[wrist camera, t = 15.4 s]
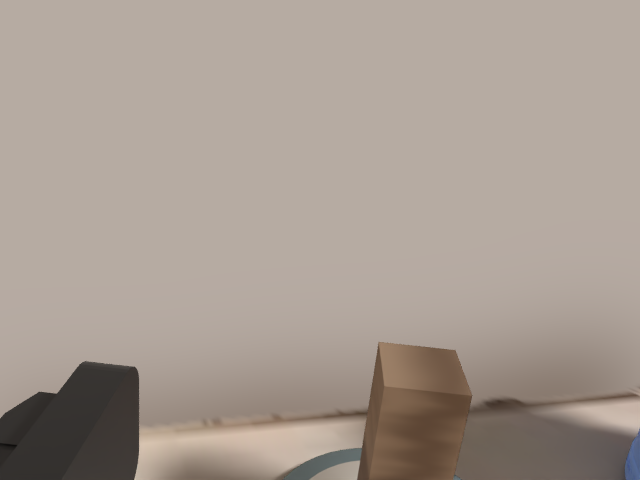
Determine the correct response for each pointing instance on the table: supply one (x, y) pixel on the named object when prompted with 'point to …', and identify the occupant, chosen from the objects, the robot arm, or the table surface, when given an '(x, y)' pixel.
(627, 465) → the water jug
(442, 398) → the walnut block
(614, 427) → the table surface
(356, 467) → the teal dish
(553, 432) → the table surface
